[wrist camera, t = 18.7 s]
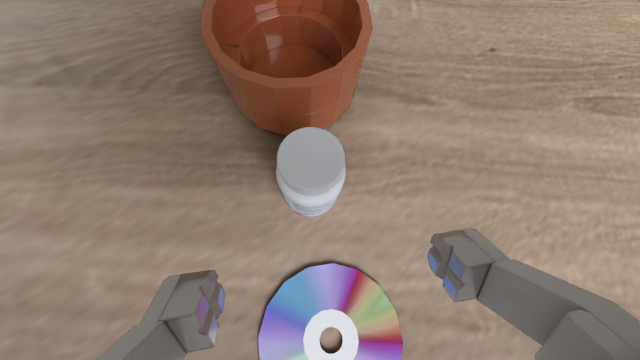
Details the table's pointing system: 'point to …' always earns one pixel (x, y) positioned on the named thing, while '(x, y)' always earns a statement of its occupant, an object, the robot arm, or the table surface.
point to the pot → (288, 57)
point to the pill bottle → (310, 170)
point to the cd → (330, 317)
